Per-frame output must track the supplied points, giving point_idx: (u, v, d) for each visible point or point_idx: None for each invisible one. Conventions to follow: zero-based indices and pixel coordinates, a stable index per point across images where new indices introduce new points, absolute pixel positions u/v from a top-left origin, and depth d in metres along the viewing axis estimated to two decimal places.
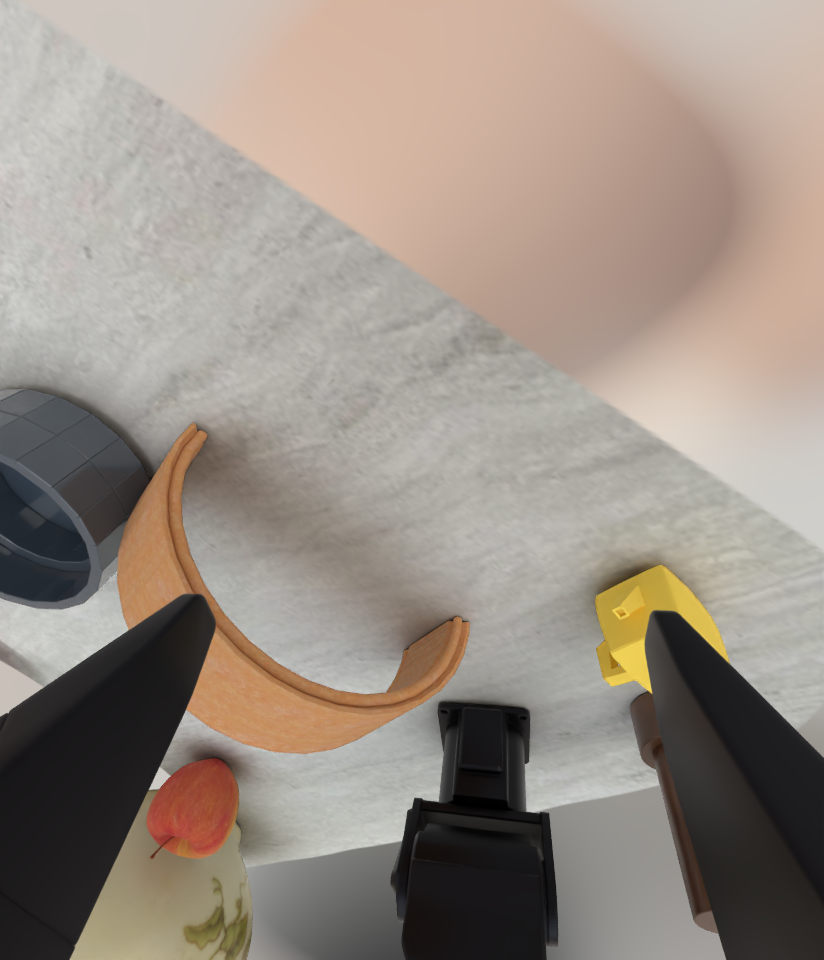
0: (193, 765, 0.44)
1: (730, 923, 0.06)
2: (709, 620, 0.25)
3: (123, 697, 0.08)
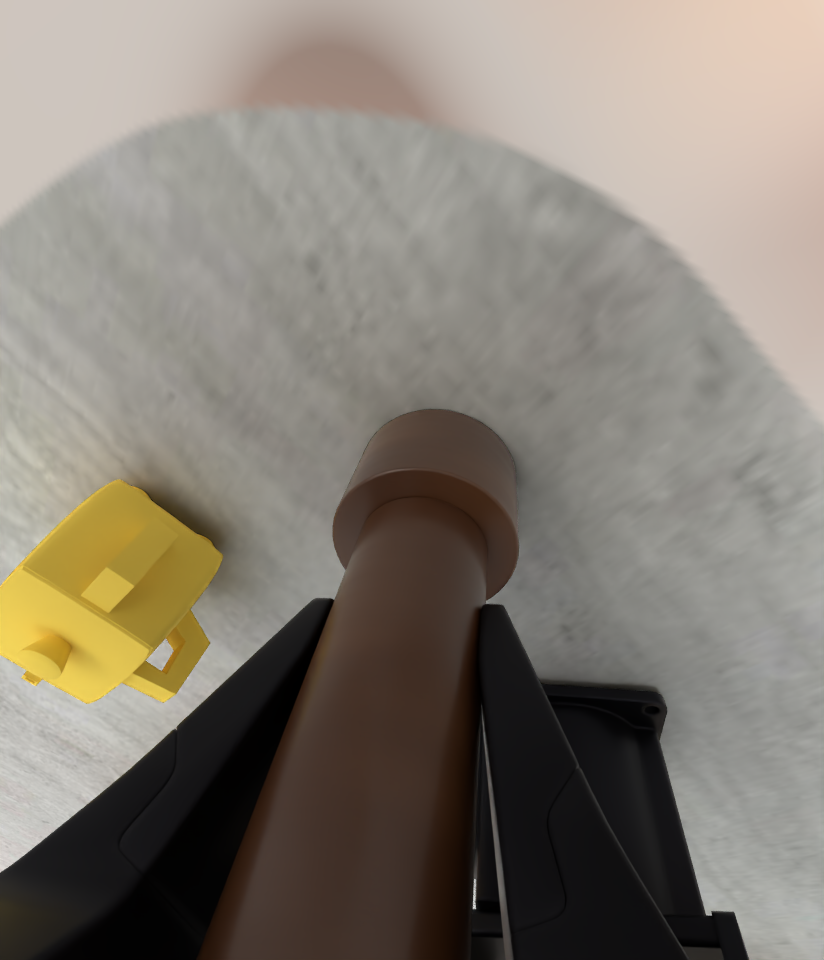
0: None
1: (499, 890, 0.07)
2: None
3: (283, 710, 0.08)
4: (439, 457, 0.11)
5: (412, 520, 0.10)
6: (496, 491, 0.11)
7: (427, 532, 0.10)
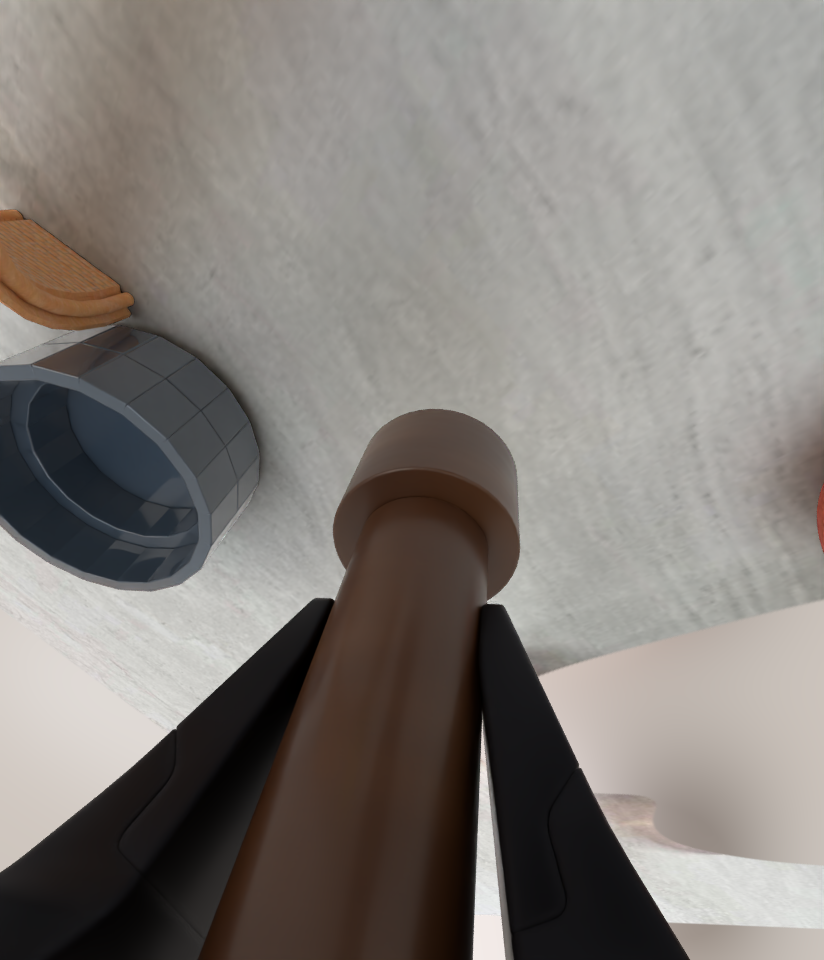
0: (819, 495, 0.19)
1: (499, 890, 0.07)
2: None
3: (282, 710, 0.08)
4: (440, 456, 0.11)
5: (412, 520, 0.10)
6: (496, 491, 0.11)
7: (428, 532, 0.10)
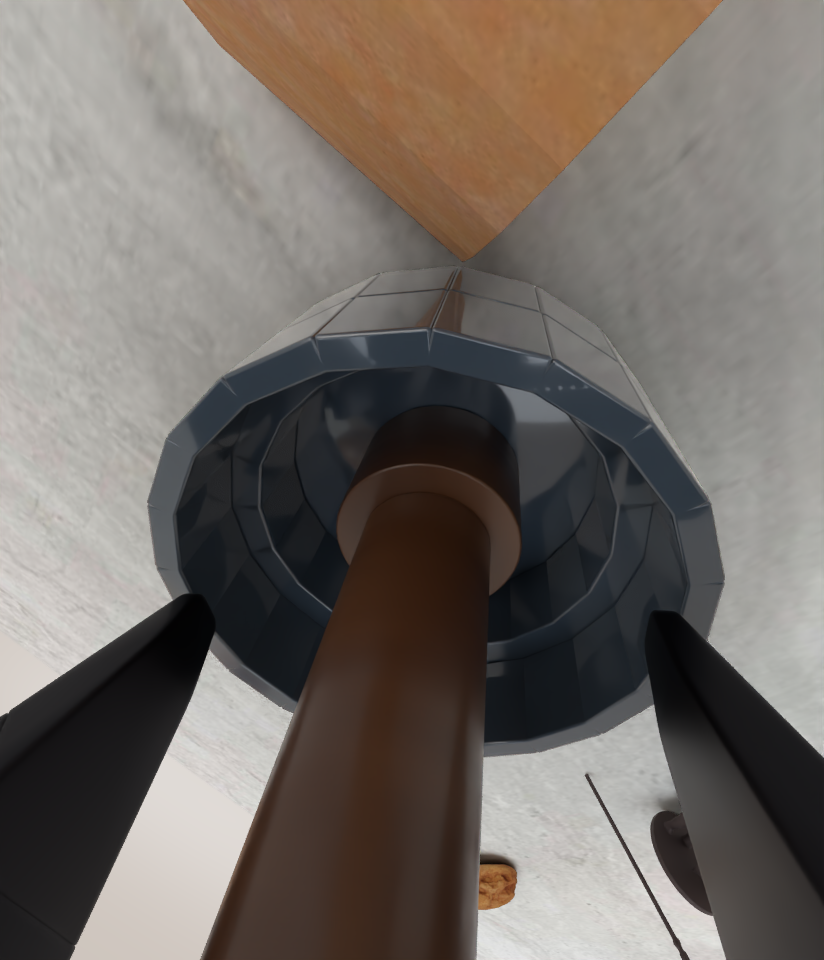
0: None
1: (730, 923, 0.06)
2: None
3: (123, 697, 0.08)
4: (443, 452, 0.11)
5: (415, 515, 0.10)
6: (498, 487, 0.11)
7: (431, 527, 0.10)
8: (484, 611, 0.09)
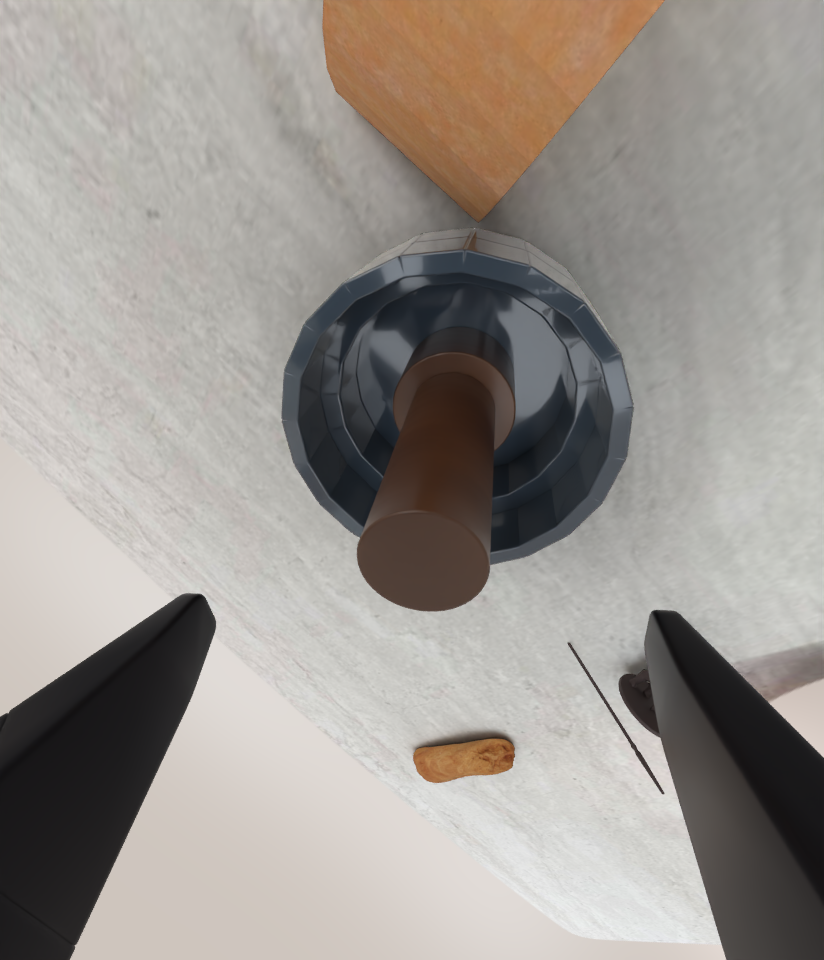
0: None
1: (730, 923, 0.06)
2: None
3: (123, 697, 0.08)
4: (465, 347, 0.17)
5: (448, 381, 0.16)
6: (500, 369, 0.17)
7: (459, 386, 0.16)
8: (492, 431, 0.15)
